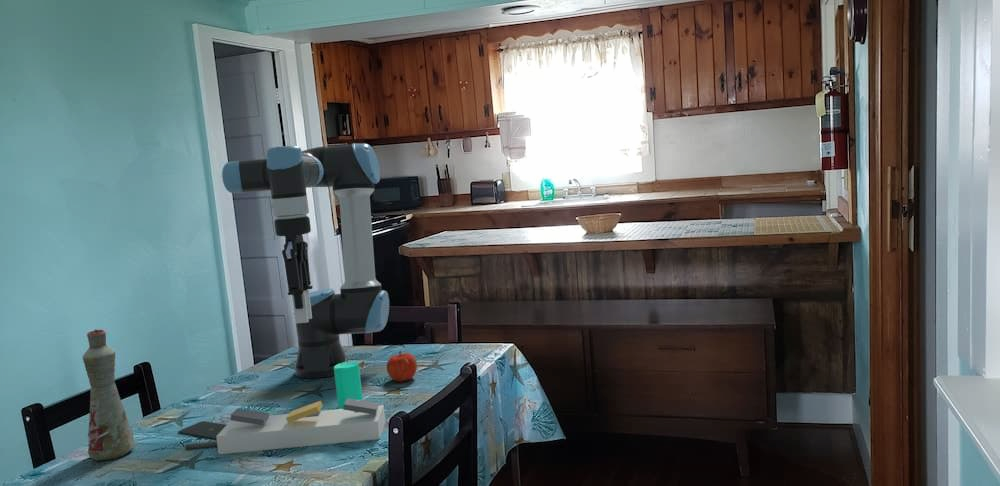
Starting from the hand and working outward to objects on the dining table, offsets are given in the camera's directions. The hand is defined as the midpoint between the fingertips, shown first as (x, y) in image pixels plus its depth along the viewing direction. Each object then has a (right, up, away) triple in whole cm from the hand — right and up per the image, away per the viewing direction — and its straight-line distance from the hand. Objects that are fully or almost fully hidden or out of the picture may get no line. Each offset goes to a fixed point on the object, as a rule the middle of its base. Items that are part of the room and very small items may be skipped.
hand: (304, 320), depth 160 cm
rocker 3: (+14, -19, -5) cm, 24 cm away
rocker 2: (+2, -20, -6) cm, 20 cm away
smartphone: (-23, -27, +5) cm, 36 cm away
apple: (+18, -20, +32) cm, 42 cm away
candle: (+8, -23, +14) cm, 28 cm away
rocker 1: (-10, -21, -6) cm, 24 cm away
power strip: (-3, -26, -4) cm, 26 cm away
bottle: (-41, -29, -4) cm, 50 cm away
